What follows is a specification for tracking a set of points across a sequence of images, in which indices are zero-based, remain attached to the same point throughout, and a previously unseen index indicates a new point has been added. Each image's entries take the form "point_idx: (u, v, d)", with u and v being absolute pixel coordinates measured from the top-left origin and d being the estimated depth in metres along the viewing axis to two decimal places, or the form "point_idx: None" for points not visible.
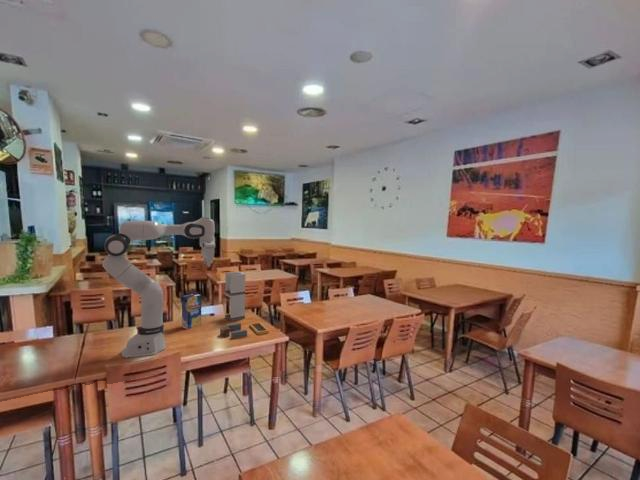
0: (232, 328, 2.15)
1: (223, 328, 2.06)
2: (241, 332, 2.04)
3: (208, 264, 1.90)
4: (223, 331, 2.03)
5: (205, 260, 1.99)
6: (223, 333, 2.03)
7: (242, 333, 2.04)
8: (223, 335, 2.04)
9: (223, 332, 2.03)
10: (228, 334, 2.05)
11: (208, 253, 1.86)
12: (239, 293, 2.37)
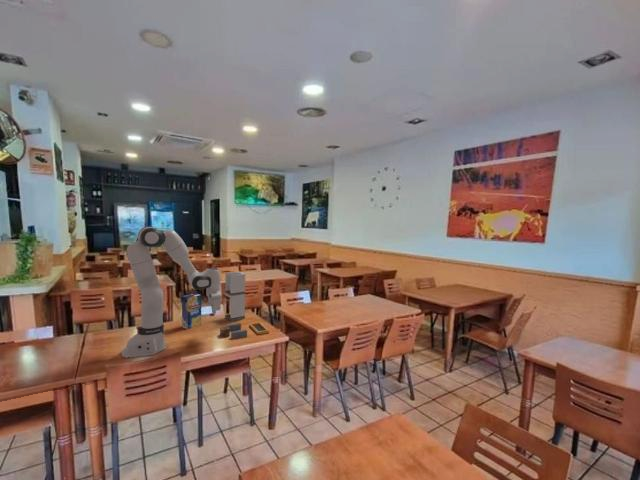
0: (232, 328, 2.15)
1: (223, 328, 2.06)
2: (241, 332, 2.04)
3: (214, 312, 2.00)
4: (223, 331, 2.03)
5: (213, 309, 2.03)
6: (223, 333, 2.03)
7: (242, 333, 2.04)
8: (223, 335, 2.04)
9: (223, 332, 2.03)
10: (228, 334, 2.05)
11: (215, 304, 1.92)
12: (239, 293, 2.37)
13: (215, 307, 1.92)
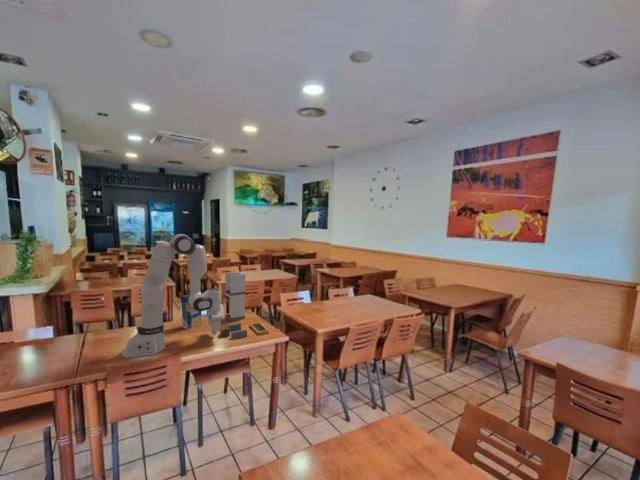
0: (232, 328, 2.15)
1: (223, 328, 2.06)
2: (241, 332, 2.04)
3: (213, 332, 2.01)
4: (223, 331, 2.03)
5: (213, 329, 2.04)
6: (223, 333, 2.03)
7: (242, 333, 2.04)
8: (223, 335, 2.04)
9: (223, 332, 2.03)
10: (228, 334, 2.05)
11: (215, 325, 1.93)
12: (239, 293, 2.37)
13: (215, 329, 1.93)
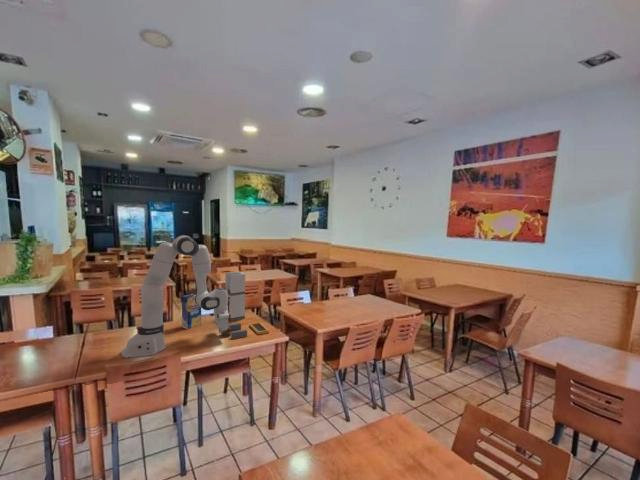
0: (232, 328, 2.15)
1: None
2: (241, 332, 2.04)
3: (220, 331, 2.04)
4: (224, 331, 2.04)
5: (220, 328, 2.06)
6: (224, 333, 2.04)
7: (242, 333, 2.04)
8: (224, 335, 2.04)
9: (224, 332, 2.04)
10: (229, 334, 2.06)
11: (222, 324, 1.95)
12: (239, 293, 2.37)
13: (222, 327, 1.95)
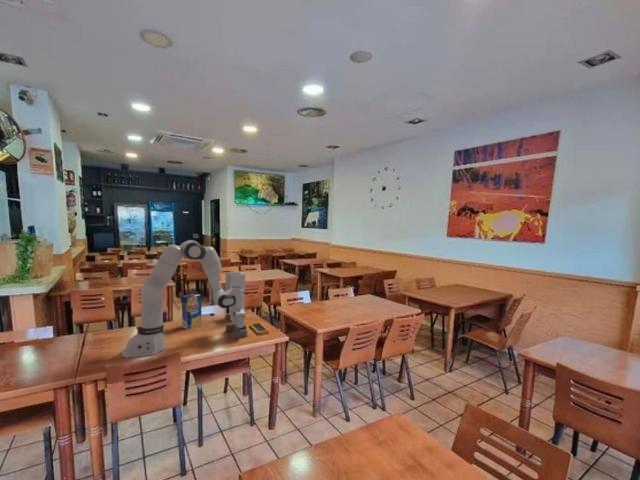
0: (232, 328, 2.15)
1: None
2: (241, 332, 2.04)
3: (236, 328, 2.09)
4: (240, 328, 2.09)
5: (236, 326, 2.11)
6: None
7: (242, 333, 2.04)
8: None
9: (240, 329, 2.09)
10: None
11: (239, 322, 2.01)
12: None
13: (239, 325, 2.01)
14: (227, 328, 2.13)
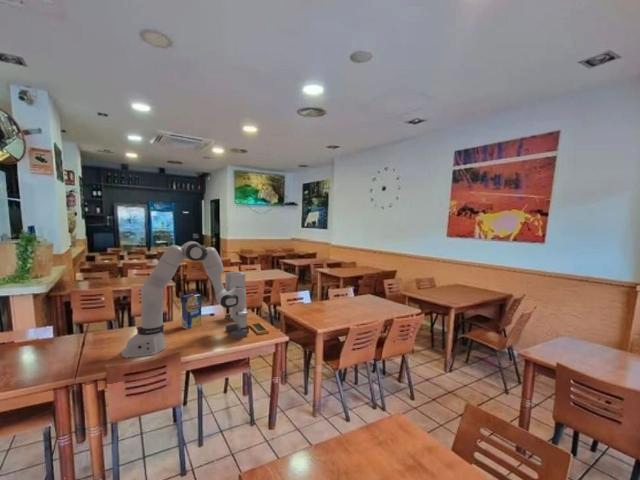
0: (232, 328, 2.15)
1: None
2: (241, 332, 2.04)
3: (239, 328, 2.10)
4: (242, 328, 2.10)
5: (238, 325, 2.12)
6: None
7: (242, 333, 2.04)
8: None
9: (242, 329, 2.10)
10: (247, 331, 2.12)
11: (241, 321, 2.02)
12: None
13: (241, 324, 2.02)
14: (227, 328, 2.13)
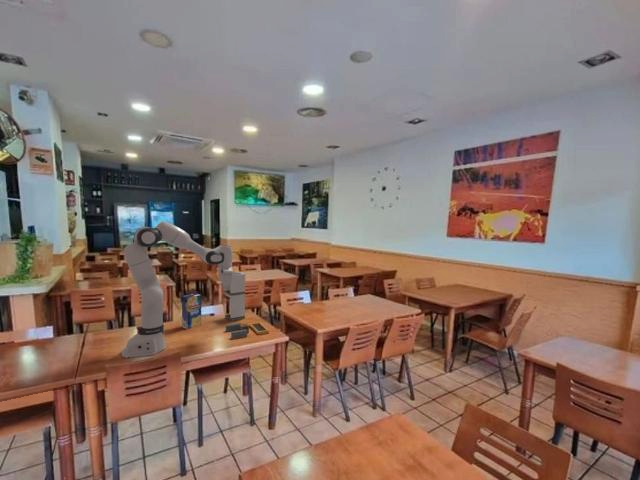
0: (232, 328, 2.15)
1: (242, 325, 2.12)
2: (241, 332, 2.04)
3: (224, 288, 2.04)
4: (242, 328, 2.10)
5: None
6: None
7: (242, 333, 2.04)
8: None
9: (242, 329, 2.10)
10: (247, 331, 2.12)
11: (226, 279, 1.96)
12: (239, 293, 2.37)
13: (226, 282, 1.96)
14: (227, 328, 2.13)
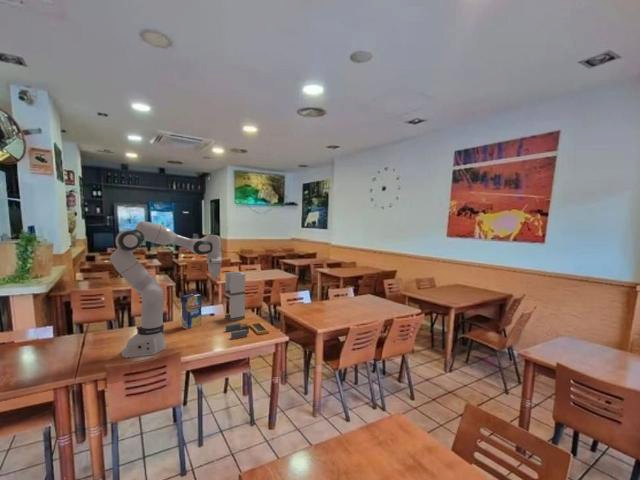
0: (232, 328, 2.15)
1: (242, 325, 2.12)
2: (241, 332, 2.04)
3: (213, 278, 2.02)
4: (242, 328, 2.10)
5: (213, 275, 2.05)
6: None
7: (242, 333, 2.04)
8: None
9: (242, 329, 2.10)
10: (247, 331, 2.12)
11: (215, 269, 1.94)
12: (239, 293, 2.37)
13: (215, 272, 1.94)
14: (227, 328, 2.13)
